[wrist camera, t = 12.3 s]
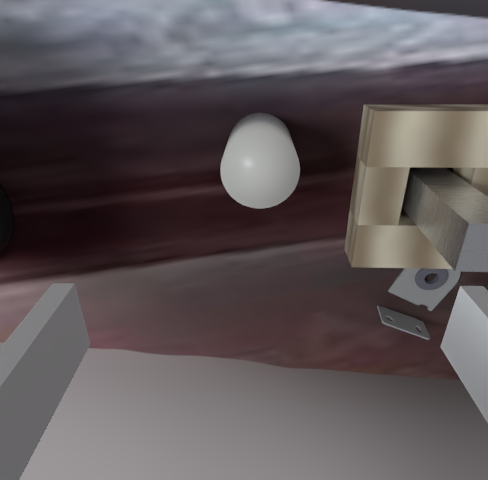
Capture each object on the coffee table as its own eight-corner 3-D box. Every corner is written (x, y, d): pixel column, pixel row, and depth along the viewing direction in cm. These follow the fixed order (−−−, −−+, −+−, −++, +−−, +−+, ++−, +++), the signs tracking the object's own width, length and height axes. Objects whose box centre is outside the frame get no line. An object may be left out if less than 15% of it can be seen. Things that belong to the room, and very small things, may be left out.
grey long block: (396, 201, 41) (454, 271, 28) (403, 165, 39) (469, 223, 27) (434, 202, 41) (509, 272, 28) (443, 166, 39) (527, 224, 26)
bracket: (469, 261, 44) (484, 277, 41) (419, 321, 49) (429, 340, 46) (420, 241, 43) (432, 257, 40) (374, 305, 48) (382, 323, 45)
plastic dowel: (230, 177, 40) (223, 210, 32) (225, 114, 37) (217, 133, 29) (291, 174, 40) (299, 207, 32) (291, 110, 37) (300, 129, 29)
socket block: (344, 249, 44) (351, 267, 40) (363, 104, 36) (374, 111, 33) (467, 250, 43) (485, 269, 40) (512, 104, 36) (540, 111, 32)
